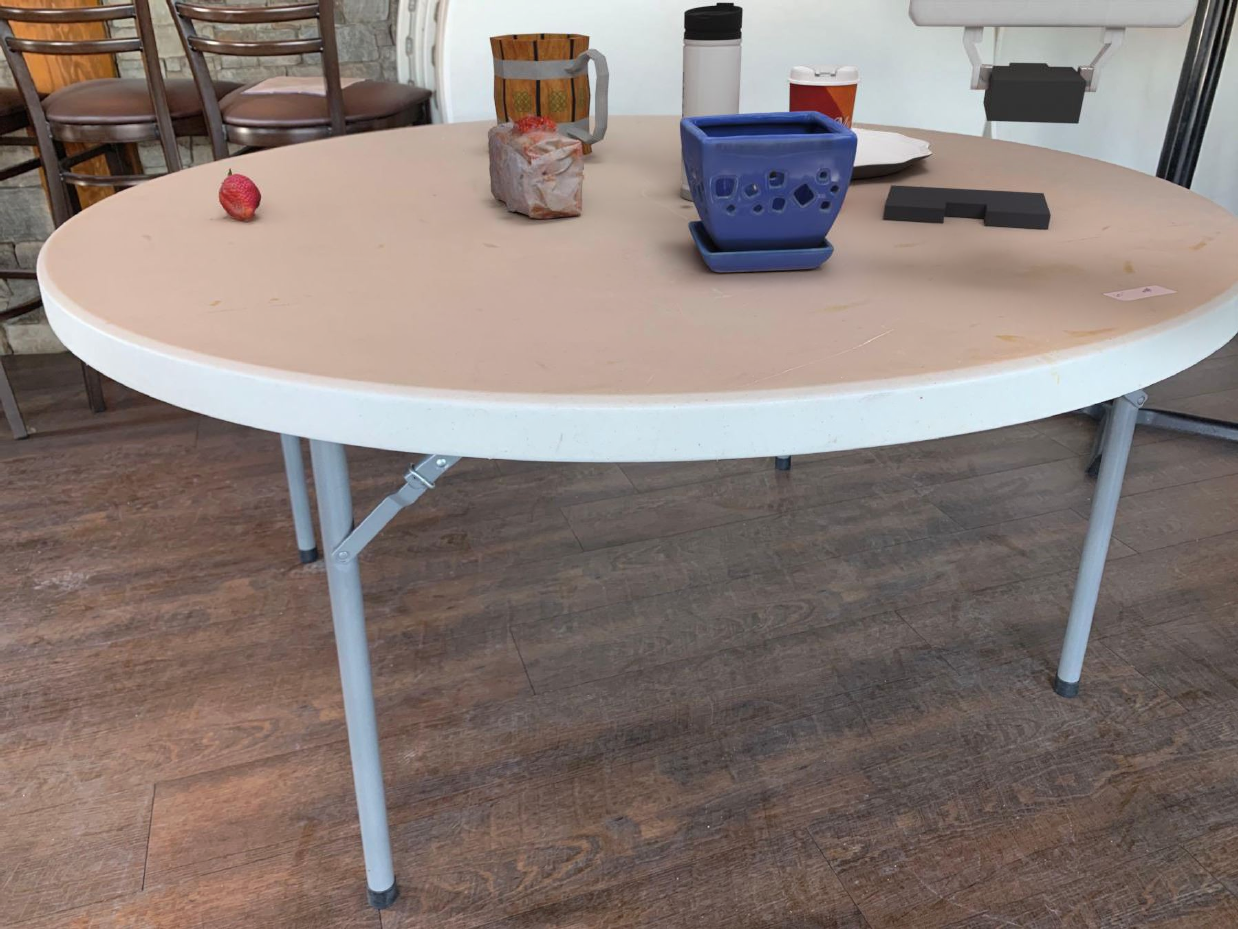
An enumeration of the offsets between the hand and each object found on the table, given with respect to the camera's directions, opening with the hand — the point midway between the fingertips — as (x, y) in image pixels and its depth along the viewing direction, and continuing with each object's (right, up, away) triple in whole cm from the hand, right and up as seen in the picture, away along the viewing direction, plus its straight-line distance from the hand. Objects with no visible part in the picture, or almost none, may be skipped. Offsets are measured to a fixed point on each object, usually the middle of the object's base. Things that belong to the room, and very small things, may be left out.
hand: (1030, 90), depth 77 cm
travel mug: (-22, +1, +34) cm, 41 cm away
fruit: (-73, -3, +28) cm, 78 cm away
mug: (-41, +13, +58) cm, 73 cm away
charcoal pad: (+4, -3, +26) cm, 26 cm away
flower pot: (-20, -11, +12) cm, 26 cm away
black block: (0, -1, +2) cm, 2 cm away
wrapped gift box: (-42, -2, +30) cm, 52 cm away
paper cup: (-11, -1, +31) cm, 33 cm away
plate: (-7, +10, +51) cm, 53 cm away
